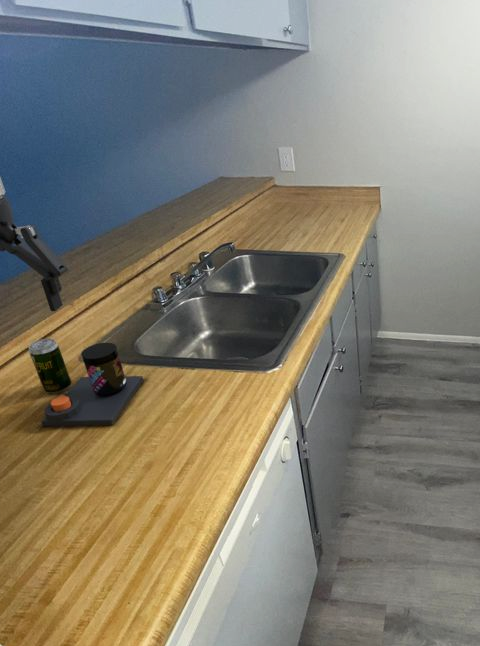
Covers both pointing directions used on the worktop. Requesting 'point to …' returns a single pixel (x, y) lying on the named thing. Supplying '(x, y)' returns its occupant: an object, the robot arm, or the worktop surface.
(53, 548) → the worktop surface
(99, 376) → the supplement container
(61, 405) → the button
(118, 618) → the worktop surface
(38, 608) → the worktop surface
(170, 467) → the worktop surface
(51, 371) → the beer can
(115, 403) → the kitchen scale
